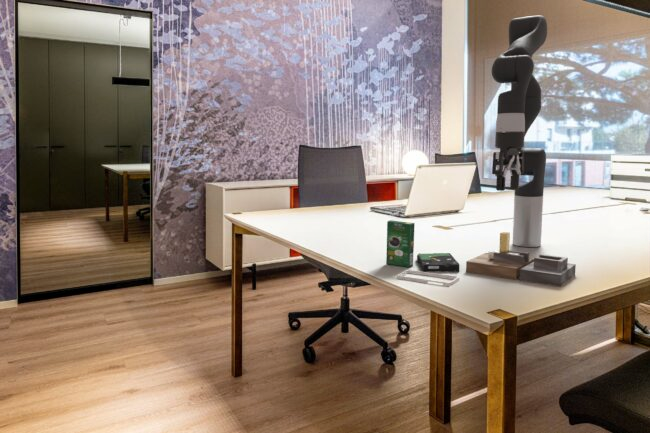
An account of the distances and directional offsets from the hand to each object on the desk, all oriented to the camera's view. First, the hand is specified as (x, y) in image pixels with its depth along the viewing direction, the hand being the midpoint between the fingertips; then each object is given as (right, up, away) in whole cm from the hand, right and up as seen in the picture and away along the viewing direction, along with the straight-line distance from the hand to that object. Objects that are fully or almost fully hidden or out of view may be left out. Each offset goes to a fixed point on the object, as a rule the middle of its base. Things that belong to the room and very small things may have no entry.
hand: (507, 189), depth 147 cm
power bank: (-23, -25, -6) cm, 35 cm away
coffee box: (-28, -22, +10) cm, 37 cm away
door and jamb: (+3, -23, -1) cm, 23 cm away
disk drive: (-18, -23, +9) cm, 30 cm away
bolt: (-1, -20, +1) cm, 20 cm away
